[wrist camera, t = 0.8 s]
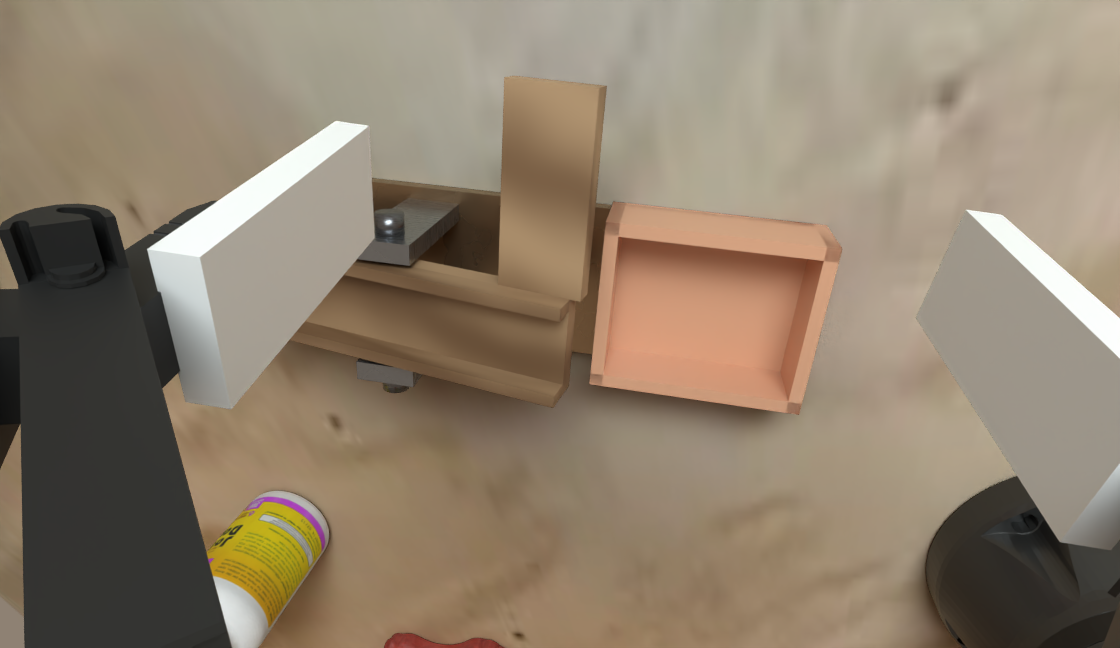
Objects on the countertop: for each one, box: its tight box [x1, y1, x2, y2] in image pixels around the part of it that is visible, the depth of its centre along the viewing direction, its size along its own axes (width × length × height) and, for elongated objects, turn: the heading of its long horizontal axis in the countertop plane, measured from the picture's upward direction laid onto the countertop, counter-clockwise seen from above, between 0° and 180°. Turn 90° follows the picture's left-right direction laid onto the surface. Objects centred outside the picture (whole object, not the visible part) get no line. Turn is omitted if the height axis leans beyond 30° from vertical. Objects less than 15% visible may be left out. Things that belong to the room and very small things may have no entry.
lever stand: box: [356, 178, 611, 393], centre depth 36 cm, size 10×20×8 cm, turn 86°
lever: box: [290, 76, 607, 408], centre depth 31 cm, size 14×20×3 cm
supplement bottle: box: [206, 491, 329, 648], centre depth 46 cm, size 7×7×13 cm
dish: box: [589, 202, 842, 415], centre depth 36 cm, size 9×11×4 cm
